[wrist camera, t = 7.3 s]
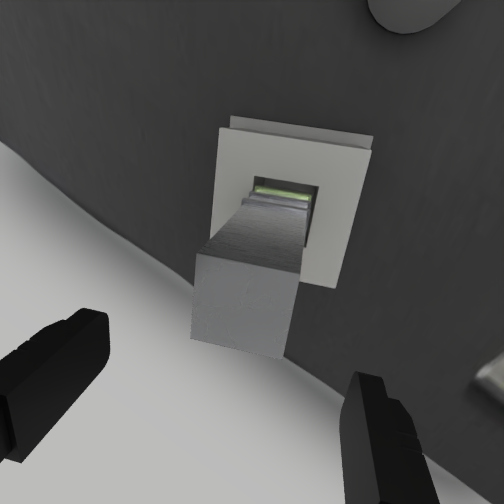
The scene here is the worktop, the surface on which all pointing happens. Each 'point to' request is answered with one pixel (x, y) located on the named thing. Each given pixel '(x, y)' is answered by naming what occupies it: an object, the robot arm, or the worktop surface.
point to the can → (409, 13)
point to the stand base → (296, 182)
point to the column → (252, 273)
